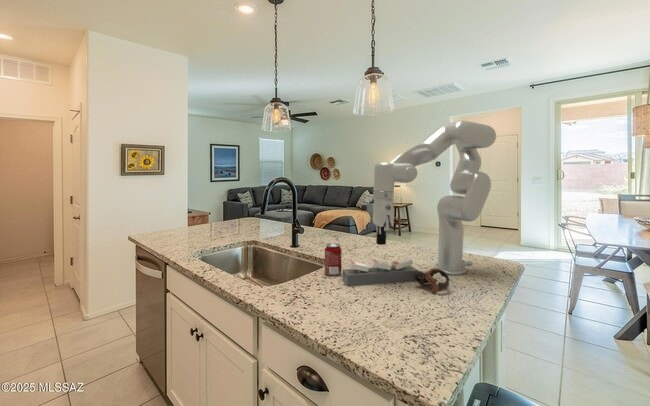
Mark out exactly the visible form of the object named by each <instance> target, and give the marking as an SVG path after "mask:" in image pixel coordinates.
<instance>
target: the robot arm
mask: <svg viewBox="0 0 650 406" xmlns="http://www.w3.org/2000/svg"><path fill="white" fill-rule="evenodd" d="M496 139H497V133H496V130H495V129H494V128H493V127H492V126H491V125H487V124H484V123H478V122H474V121H468V120H457V121H453V122H448V123H444V124H442V125H441V126H439V127H438V128H437V129H435V131H433V132H432V133H431V134H430V135H428V136H427V137H426V138H424V139H423V140H422V141H421V142H419V143H418V144H416V145H414V146H412V147H411V148H409V149H408V150H406V151H404V152H402V153H401V154H399V155H398V156H397V157H396V158H394V159H393V160H392V161H391V162H377V163H375V165H374V171H373V173H374V174H373V191H372V192H373V194H372V195H373V197H372V199H373V200H374V201H373V207H372V208H373V209H372V211H373V212H372V223H373V225H374V226H375V227H376V229H375V231H376V232H375V233H376V241H375V244H377V245H378V246H379V245H380V246H381V245H384V246H385V245H386V244H387V234H388V231H390V228H394V225H395V224H394V223H395V205H394V197H395V195H394V194H395V184H397V183H398V184H409V183H412V182H414V181H415V179H416V178H417V177H418V170H417V168H416V167H417V166H420V165H424V164H427V163H430V162H432V161H435V160H436V159H437V158H438V157H439V156H441V154H443V153H444V152H445V151H446V150H447V149H449V148H450V147H451V146H453V145H455V147H456V150H457V152H458V155H459V161H458V164H457V165H456V169H455V170H454V174H453V176H452V178H451V180H450V184H449V189H450V191H451V192H452V193H454V194H457V195H445V196H442V197H441V198H440V199H439V200H438V202H437V207H436V209H437V216H438V247H437V248H438V249H437V263H436V264H434V265H433V269H434V268H435V269H439V270H442V271H444V272H445V273H446V274H447V275H449V276H456V275H457V276H459V275H464V274H466V273H467V269H466V268H465V267H468V266H469V267H470V266H473V264H474V263H473V261H472V260H468V261H467V260H465V259H464V260H463V256H464V255H463V253H464V249H463V248H464V231H465V229H464V224H463V222H466V223H467V222H468V223H470V222H474V221H476V220H477V219H478V218H479V217H480V215H481V213H482V211H483V208H484V206H485V203H486V202H487V198H488V197H489V194H490V191H491V187H492V181H491V178H490V176H489V174H487V173H486V172H483V171H480V169H481V165H482V158H481V156H480V153H479V151H478V149H487V148H489V147H491V146H493V144H494V143H495V142H496ZM461 195H463V196H461Z"/></svg>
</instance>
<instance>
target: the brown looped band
mask: <svg viewBox="0 0 650 406" xmlns="http://www.w3.org/2000/svg"><path fill="white" fill-rule="evenodd" d="M436 274H440V276H442V277H444V278H445V281H444V282H438V280H437V279H435V278H434V277H433V276H434V275H436ZM413 276H414V279H415V280H416V281H415V282H416V283H418V285H419V286H420V287H422V286H424V284H430V285H431V286H432V289H431V290H430V291H431V293H432V294H438V293H440V292H442V291H445V290H447V289H448V287H449V286H450V278H449V274H446V273H445V272H444V271H442V270H439V269H435V268H434V267H433V268H430V269H429V270H427V271H425V272H423V271H420V270H418V271H416V272H415V273H414V274H413ZM418 276H420V277H418ZM437 282H438V284H437Z"/></svg>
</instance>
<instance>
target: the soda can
mask: <svg viewBox="0 0 650 406" xmlns="http://www.w3.org/2000/svg"><path fill="white" fill-rule="evenodd" d="M324 272H325V274H327V275H329V276H333V277H334V276H339V275H340V274H341V273H342V248H341V245H340V243H336V242H335V243H333V242H332V243H327V244H326V247H325V248H324Z"/></svg>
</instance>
